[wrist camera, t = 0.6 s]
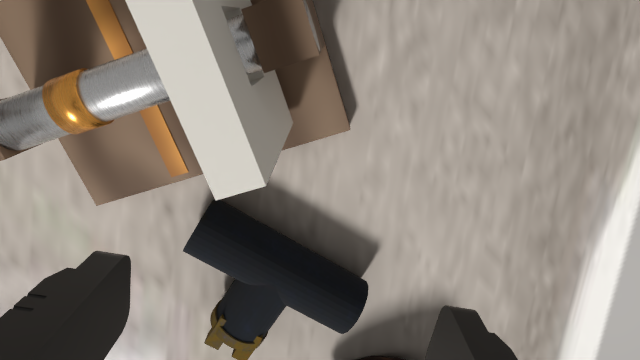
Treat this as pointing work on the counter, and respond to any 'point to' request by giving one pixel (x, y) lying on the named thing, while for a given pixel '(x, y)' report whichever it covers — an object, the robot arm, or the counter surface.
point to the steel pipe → (100, 94)
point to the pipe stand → (161, 120)
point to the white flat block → (215, 91)
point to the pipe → (380, 358)
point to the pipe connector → (269, 280)
